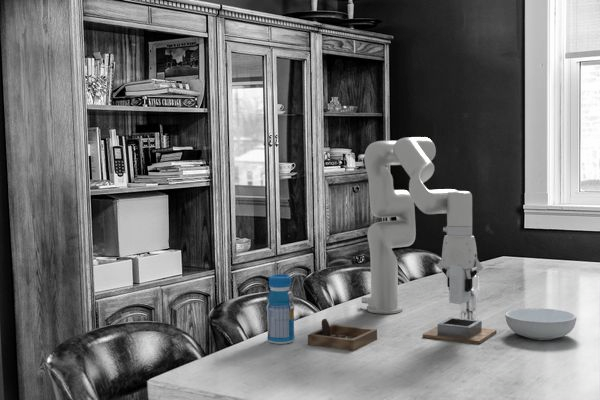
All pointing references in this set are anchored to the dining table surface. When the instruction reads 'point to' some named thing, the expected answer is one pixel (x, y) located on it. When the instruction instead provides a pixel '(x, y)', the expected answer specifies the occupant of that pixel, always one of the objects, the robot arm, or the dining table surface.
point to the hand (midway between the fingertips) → (459, 289)
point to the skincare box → (458, 285)
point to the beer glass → (471, 302)
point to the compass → (327, 330)
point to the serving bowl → (540, 322)
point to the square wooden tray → (360, 334)
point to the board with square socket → (460, 331)
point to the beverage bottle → (280, 310)
